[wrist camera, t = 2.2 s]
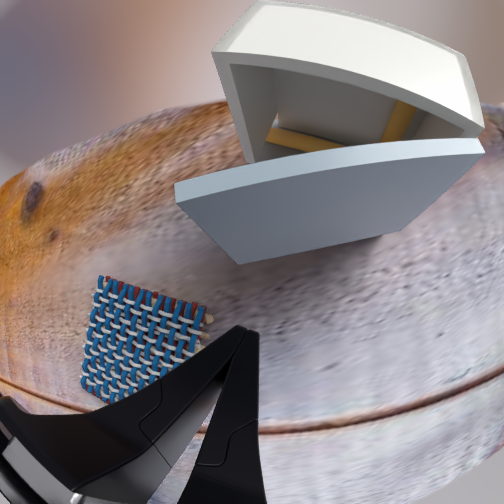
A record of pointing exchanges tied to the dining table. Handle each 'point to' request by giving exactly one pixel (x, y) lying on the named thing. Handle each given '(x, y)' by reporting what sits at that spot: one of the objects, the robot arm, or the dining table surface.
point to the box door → (323, 195)
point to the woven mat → (136, 338)
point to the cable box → (339, 82)
